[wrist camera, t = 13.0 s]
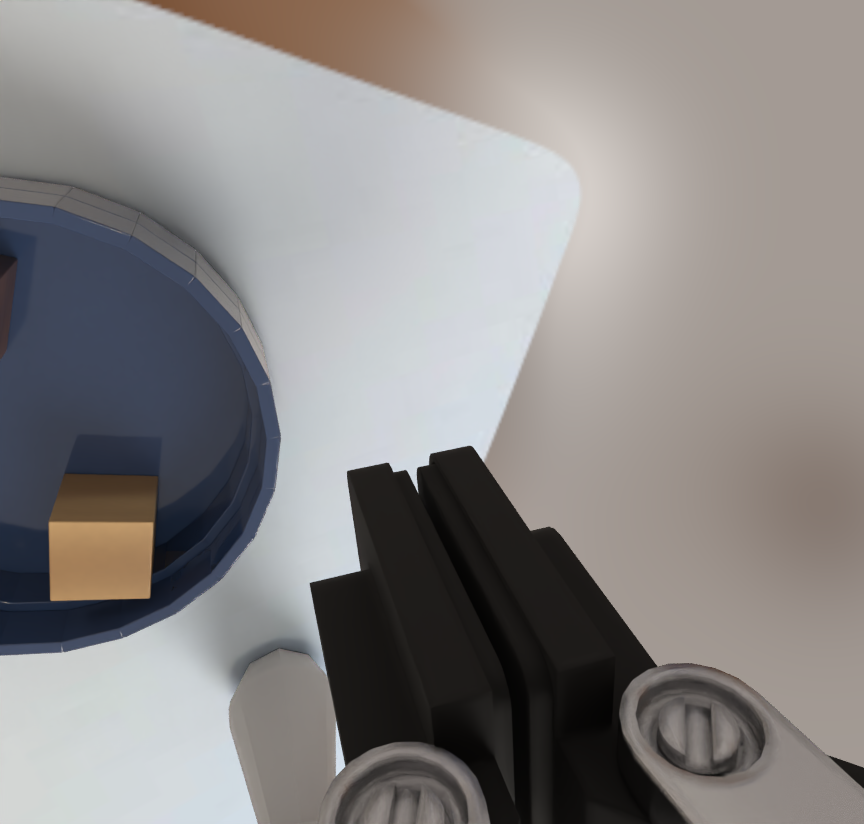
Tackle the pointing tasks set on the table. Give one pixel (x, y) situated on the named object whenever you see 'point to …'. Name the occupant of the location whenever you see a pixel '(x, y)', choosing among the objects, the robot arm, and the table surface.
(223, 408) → the bowl
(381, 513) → the robot arm
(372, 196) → the table surface
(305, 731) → the salt shaker
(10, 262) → the walnut block
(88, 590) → the maple block
